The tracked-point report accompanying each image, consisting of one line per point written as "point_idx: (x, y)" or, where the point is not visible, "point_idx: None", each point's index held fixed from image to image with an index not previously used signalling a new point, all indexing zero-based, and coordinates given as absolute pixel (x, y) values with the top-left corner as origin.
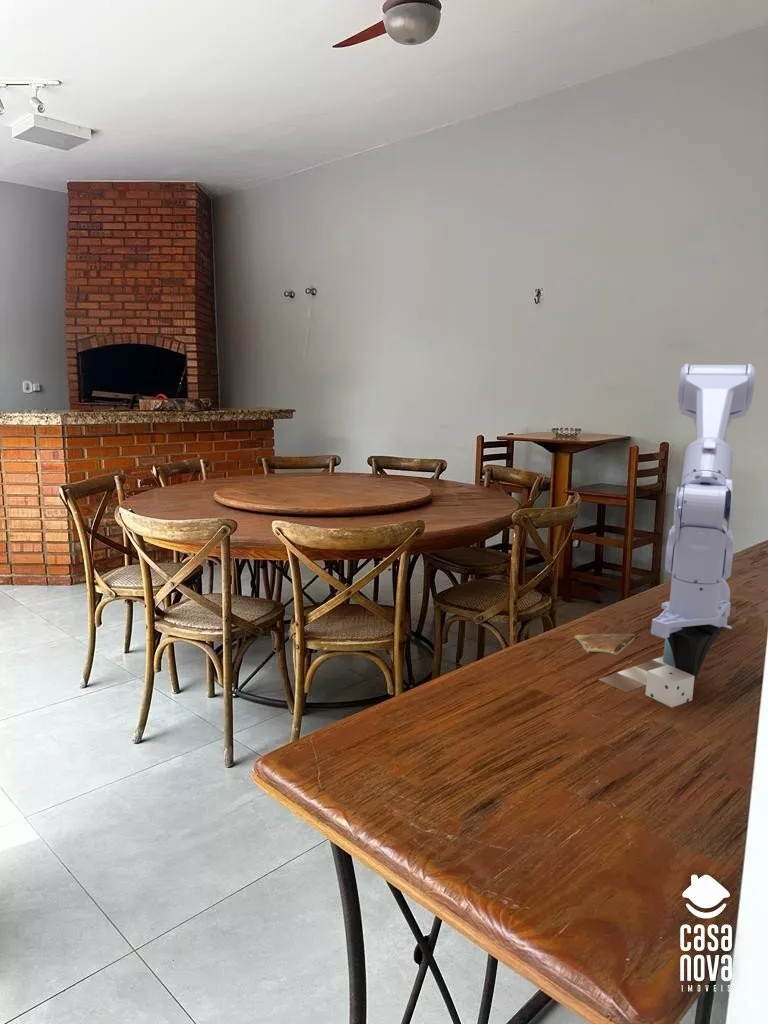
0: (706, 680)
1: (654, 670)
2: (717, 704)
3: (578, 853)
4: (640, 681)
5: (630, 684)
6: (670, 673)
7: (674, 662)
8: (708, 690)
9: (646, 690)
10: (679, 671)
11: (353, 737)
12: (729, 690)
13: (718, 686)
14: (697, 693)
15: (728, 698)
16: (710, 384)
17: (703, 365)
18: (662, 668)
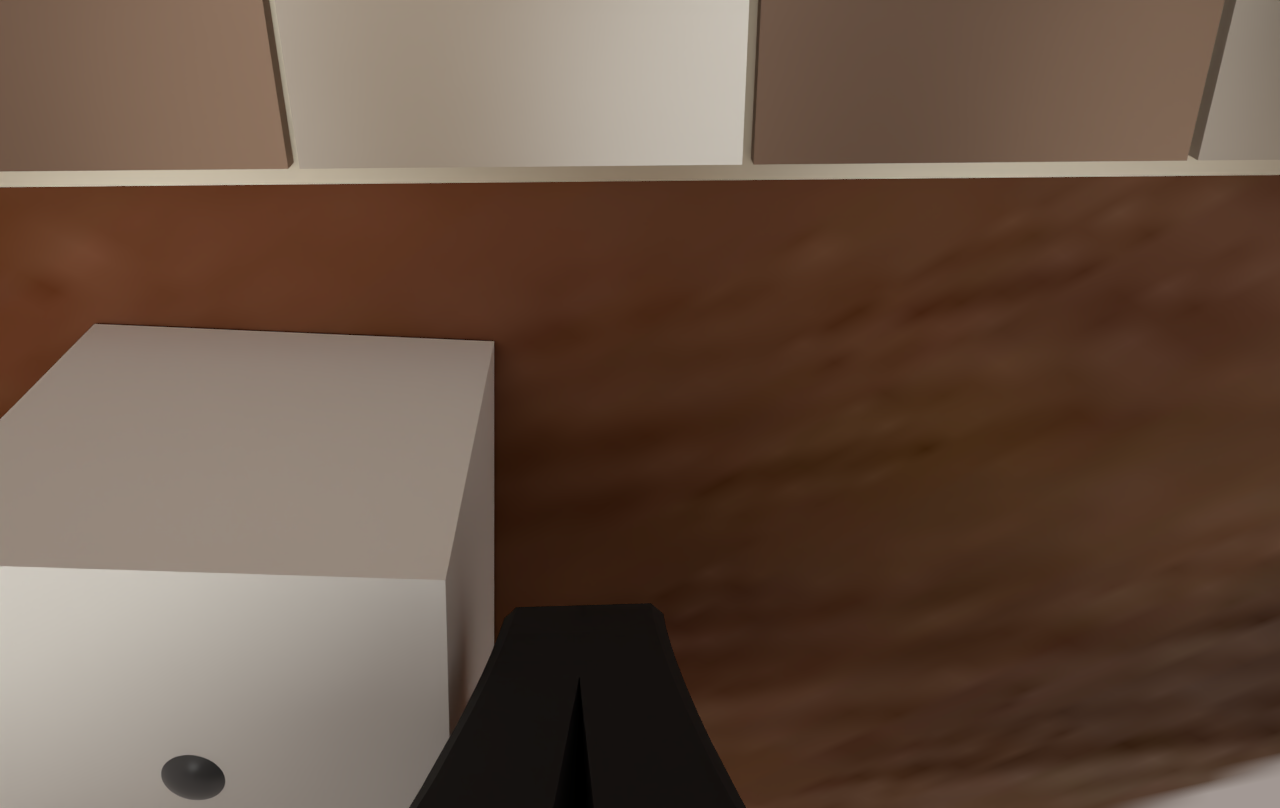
0: (1262, 399)
1: (10, 603)
2: (739, 742)
3: None
4: (312, 54)
5: (76, 34)
6: (174, 786)
7: (454, 734)
8: (990, 549)
9: (41, 391)
10: (385, 797)
11: None
12: (1165, 649)
13: (1185, 549)
14: (813, 532)
15: (960, 728)
16: None
17: None
18: (215, 623)
